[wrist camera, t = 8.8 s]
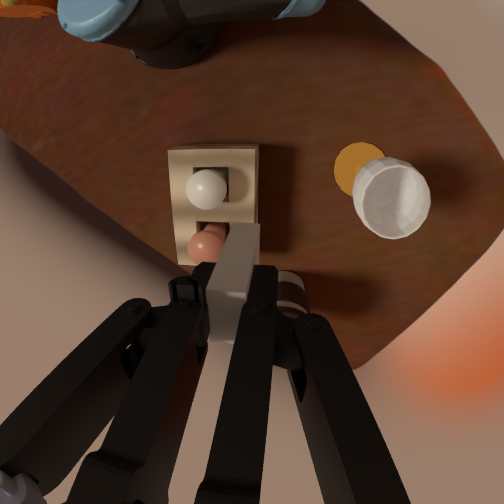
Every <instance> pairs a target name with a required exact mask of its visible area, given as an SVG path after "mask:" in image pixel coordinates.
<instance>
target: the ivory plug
mask: <svg viewBox="0 0 504 504" xmlns="http://www.w3.org/2000/svg"><path fill="white" fill-rule="evenodd" d="M228 182H229V170H228V169H227V168H226V167H211V168H210V169H203V170H200V171H198V172H196V173H195V174H194V175H192V176H191V177H190V179H189V180H188V182H187V185H186V193H187V197H188V199H189V200H190V202H191V203H192V204H193V205H194V206H196V207H198V208H200V209H204V210H210V209H214V208H216V207H217V206H219V205H220V204H221V203H222V201H223V200H224V198H225V196H226V193H227V184H228Z"/></svg>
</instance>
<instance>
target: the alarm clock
mask: <svg viewBox="0 0 504 504" xmlns="http://www.w3.org/2000/svg"><path fill="white" fill-rule="evenodd" d="M57 8H58V0H0V16H3V17H33V18H35V19H36V18H42V16H47V15H52V14H58V12H57Z"/></svg>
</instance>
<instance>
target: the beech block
mask: <svg viewBox="0 0 504 504" xmlns="http://www.w3.org/2000/svg"><path fill="white" fill-rule="evenodd" d="M168 161H169V176H170V189H171V201H172V212H173V222H174V231H175V240H176V249H177V257H178V264H182V265H196V266H197V264H195V263H194V262H193V261H192V260H191V258H190V257H189V254H188V243H189V241H190V240H191V238H192V237H193V235H194V234H196V233H197V232H199V231H202V230H204V228H205V227H206V225H207V221H208V222H230V230H231V227H232V225H233V223H234V222H238V223H256V224H258V166H259V144H240V143H218V144H182V145H179V146H177V147H175V148H172V149H170V150H168ZM204 167H229V190H227V193H226V196H225V198H224V200H223V201H222V203H221V204H220V205H219V206H217V207H216V208H214V209H210V210H204V209H200V208H198V207H196V206H194V205H193V204H192V203H191V202H190V200H189V199H188V197H187V193H186V185H187V182H188V180H189V179H190V177H191V176H192V175H194V174H195V173H196V172H198V171H200V170H203V169H204ZM227 237H228V236H227ZM227 237H226V239H227ZM225 241H226V240H225Z"/></svg>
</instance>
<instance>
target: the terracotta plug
mask: <svg viewBox="0 0 504 504" xmlns="http://www.w3.org/2000/svg"><path fill="white" fill-rule="evenodd" d="M229 230H230V226H229V223H228V222H208V224H207V225H206V227H205V228H204V230H202V231H199V232H197V233H196V234H194V235H193V237H192V238H191V240H190V241H189V243H188V254H189V257H190V258H191V260H192V261H193V262H194V263H195V264H197V265H198V264H200V263H201V262H216V263H217V261H218V258H219V256H220V253H221V251H222V249H223V246H224V244H225V240H226V237H227V235H228V233H229Z"/></svg>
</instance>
